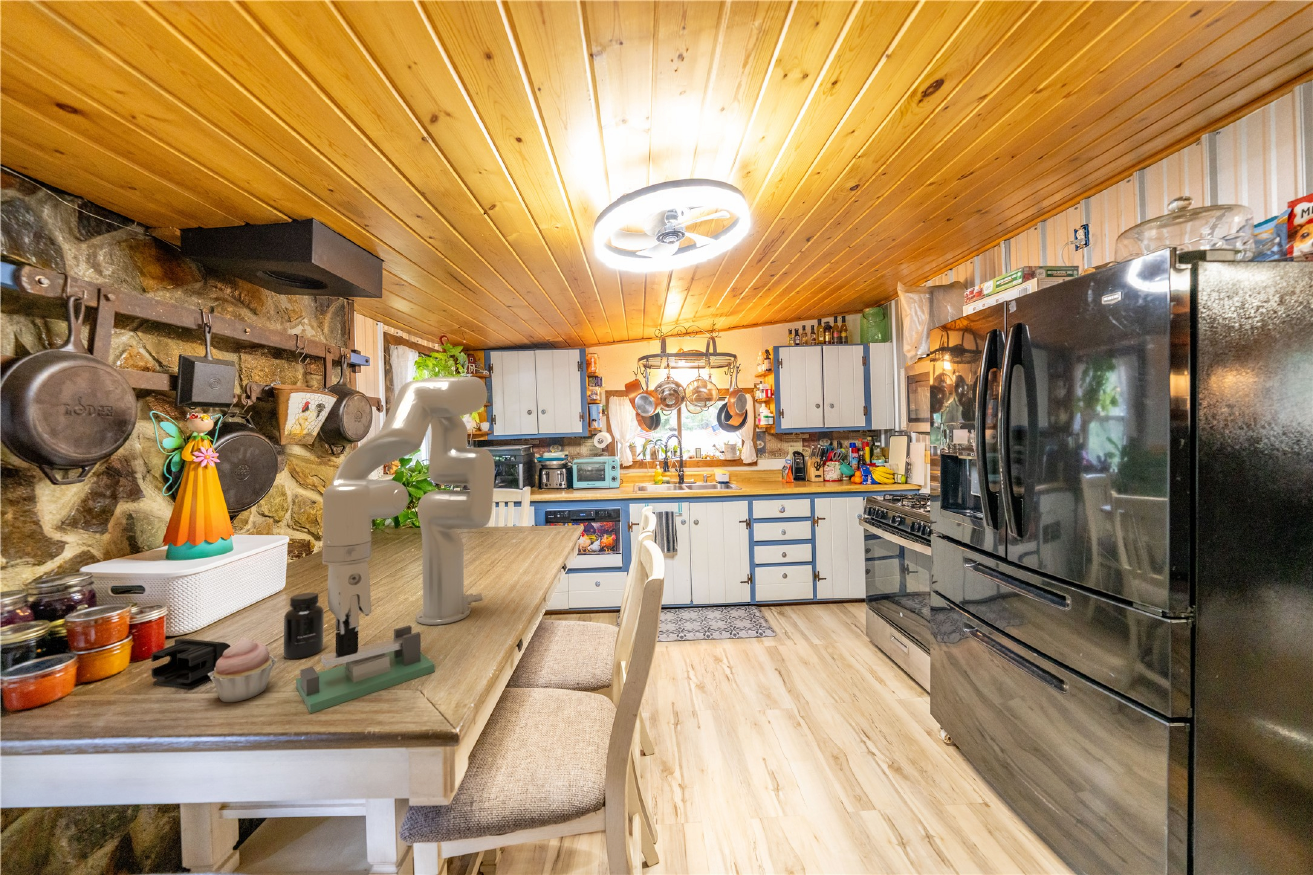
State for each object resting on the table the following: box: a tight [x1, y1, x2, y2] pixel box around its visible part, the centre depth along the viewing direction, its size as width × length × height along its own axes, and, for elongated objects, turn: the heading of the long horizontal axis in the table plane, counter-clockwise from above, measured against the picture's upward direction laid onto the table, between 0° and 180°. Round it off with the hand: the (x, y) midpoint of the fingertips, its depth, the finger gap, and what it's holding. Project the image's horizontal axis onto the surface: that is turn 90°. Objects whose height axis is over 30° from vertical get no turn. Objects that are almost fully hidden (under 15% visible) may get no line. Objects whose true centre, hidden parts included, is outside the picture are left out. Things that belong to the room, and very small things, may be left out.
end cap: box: [150, 637, 232, 691], centre depth 93 cm, size 10×7×7 cm
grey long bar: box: [320, 635, 405, 669], centre depth 93 cm, size 15×3×2 cm, turn 135°
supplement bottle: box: [283, 591, 325, 660], centre depth 104 cm, size 7×7×12 cm
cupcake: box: [208, 636, 278, 703], centre depth 88 cm, size 9×9×10 cm
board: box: [295, 625, 436, 714], centre depth 93 cm, size 20×12×7 cm, turn 135°
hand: (346, 653), depth 90 cm, fingers closed
